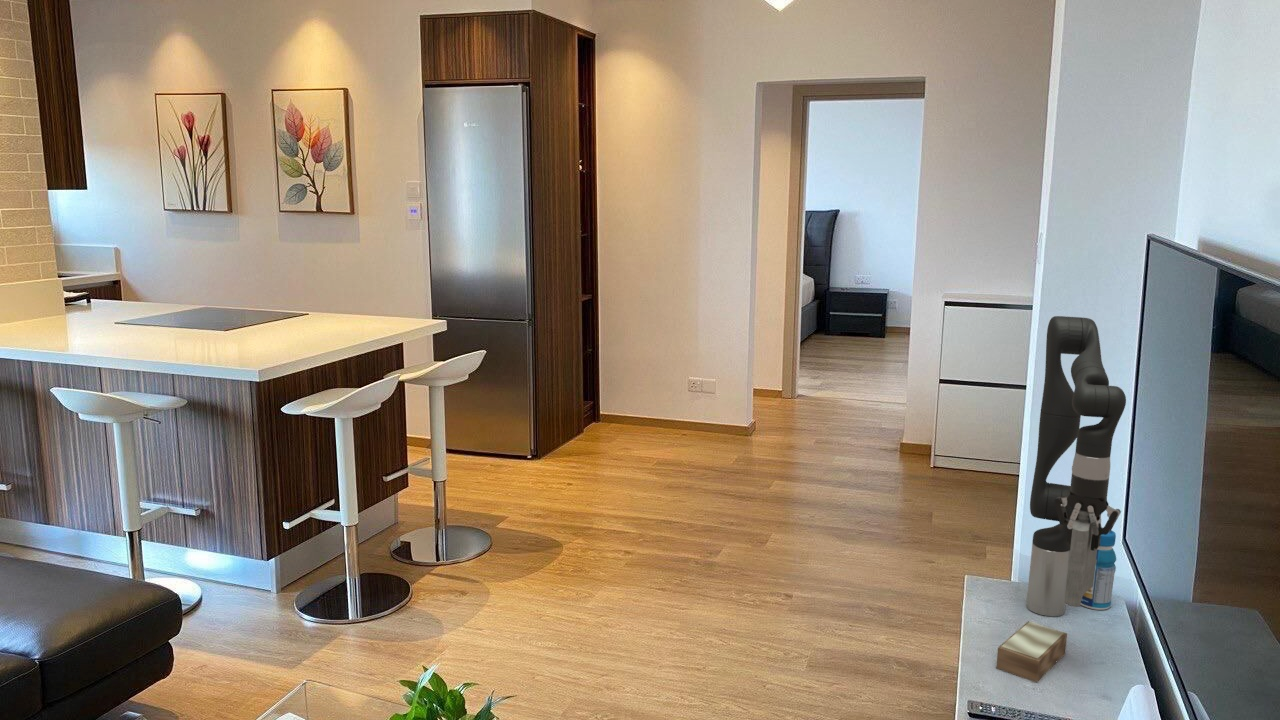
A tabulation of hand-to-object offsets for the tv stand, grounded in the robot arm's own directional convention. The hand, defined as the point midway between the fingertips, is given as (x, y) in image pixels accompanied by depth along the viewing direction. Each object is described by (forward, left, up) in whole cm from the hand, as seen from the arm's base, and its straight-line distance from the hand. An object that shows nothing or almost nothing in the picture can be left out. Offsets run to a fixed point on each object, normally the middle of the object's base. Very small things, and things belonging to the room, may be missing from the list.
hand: (1082, 546), depth 215 cm
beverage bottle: (-35, -6, -28) cm, 45 cm away
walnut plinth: (+7, -6, -27) cm, 29 cm away
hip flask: (0, 0, -11) cm, 11 cm away
